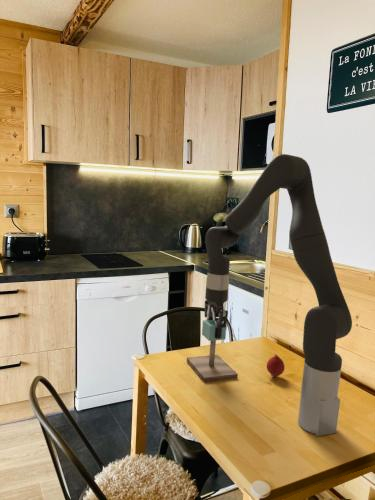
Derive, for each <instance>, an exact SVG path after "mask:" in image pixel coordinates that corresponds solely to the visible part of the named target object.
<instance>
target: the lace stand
mask: <svg viewBox="0 0 375 500" xmlns="http://www.w3.org/2000/svg"><path fill="white" fill-rule="evenodd" d="M209 343H210V344H209V355H202V356H201V355H199V356H191V357H190V356H189V357H186V362H187V364H188V365H189V366H190V367H191V369H192V370H193V371H194V372H195V373H196V375H197V376H198V377H199V378H200V379H201V380H202V382H204V383H207V382H208V383H210V382H216V381H225V380H233V379H238V375H239V374H238V373H237V372H236V370H235V369H233V368H232V367H231V366H230V365H229V364H228V363H227V362H226V361H225V360H224V359H222V357H221V356H220V355H219V354H216V347H217V345H216V343H217V340H212V341H209Z"/></svg>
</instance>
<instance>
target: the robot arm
mask: <svg viewBox="0 0 375 500" xmlns="http://www.w3.org/2000/svg"><path fill="white" fill-rule="evenodd" d="M266 165H267V166H266V167H265V168H264V169H263V171H262V173H261V174H260V176H259V177H258V178H257V179H256V181H255V183H254V184H253V185H252V187H251V188H250V190H249V191H248V193H247V194H246V195H245V196H244V198H243V199H242V200H241V201H240V202H239V203H238V204H237V205H236V206H235V207H234V208H233V209H232V210H231V211H230V212H229V213H228V215H226V217H225V219H224V220H225V221H224V222H225V225H224V226H213V227H210V228H209V229H208V230H207V232H206V233H205V238H204V239H205V240H204V244H205V248H206V253H207V254H206V255H207V259H208V265H207V268H208V269H207V273H206V274H207V276H206V281H205V297H204V299H205V300H204V318H206V319H205V320H214V321H215V338H216V339H219V338H221V335H222V328H224V327H226V328H227V322H228V315H229V311H228V310H225V307H224V303H226V302H227V301H229V300H228V299H229V285H230V267H231V266H230V265H231V264H230V262H231V261H230V258H229V256H228V255H224V253H223V249H227V248H230V247H231V248H232V247H233V246H234V245H235V244H236V243H238V241H239V239H240V238H241V236H242V235H243V233H244V231H245V230H246V229H247V228H248V227H249V226H250V225H251V224H252V223H254V222H255V220H256V219H257V218H258V217H259V215H260V213H261V211H262V209H263V206H264V204H265V202H266V201H267V200H268V198H270V197H271V195H273V194H274V193H275V192H277V191H279V190H280V189H285V190H287V194H288V196H289V200H290V203H291V204H290V205H291V209H292V210H291V211H292V213H291V215H292V216H291V219H290V220H291V221H290V226H289V242H290V245H291V250H292V253H293V257H294V260H295V262H296V264H297V266H298V267H299V268H300V270H301V271H302V273H303V274H304V275H305V277H306V279H308V281H309V282H310V284H311V285H312V287H313V290H314V293H315V296H316V299H317V302H318V305H317V306H314V307H312V308H311V309H309V310H308V312H307V313H306V315H305V318H304V322H303V335H302V336H303V339H302V351H303V355H304V361H303V362H304V363H303V370H302V371H303V372H302V378H301V379H302V380H301V390H300V399H299V400H300V401H299V407H298V409H299V410H298V418H297V423H298V425H299V426H300V428H302V429H303V430H305V431H306V432H308V433H311V434H314V436H316V437H321V436H325V435H330V434H331V435H332V434H336V433H337V429H338V420H339V412H340V407H341V406H340V404H341V399H340V398H339V390H340V389H339V388H340V379H341V371H342V364H343V358H342V356H341V354H339V353H337V352H336V348H337V346H336V345H337V340H338V339H342V338H344V337H347V336H348V334H350V332H351V331H352V328H353V319H352V314H351V311H350V309H349V307H348V306H349V305H348V303H347V301H346V298H345V297H344V294H343V292H342V288H341V285H340V283H339V280H338V276H337V273H336V270H335V265H334V263H333V259H332V255H331V252H330V248H329V243H328V239H327V237H326V232H325V230H324V226H323V224H322V219H321V215H320V212H319V211H320V210H319V208H318V204H317V201H316V196H315V191H314V183H313V179H312V177H313V176H312V172H311V171H312V170H311V168H310V166H309V163H308V162H307V161H306V160H305V159H304V158H302V157H300V156H296V155H291V154H286V153H282V154H278V155H276V156H274V157H272V158H271V160H270V161H269V163H268V164H266Z"/></svg>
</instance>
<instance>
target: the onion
mask: <svg viewBox="0 0 375 500" xmlns="http://www.w3.org/2000/svg"><path fill="white" fill-rule="evenodd" d="M266 369H267V372H269V374H270V375H271V376H272V377H273V378H276V377H279V376H281V375H282V374H283V373H284V372H285V363H284V360H283V359H282V358H280V357H279V355H278V354H277V353H274V355H273V356H272V357H270V358H269V359H268V361H267V363H266Z"/></svg>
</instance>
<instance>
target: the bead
mask: <svg viewBox="0 0 375 500" xmlns="http://www.w3.org/2000/svg"><path fill="white" fill-rule="evenodd" d="M201 329H202V330H201V331H202V332H201V335H202V336H203V337H204V338H205V339H206V340H207V341H208V342H211V341H212V340H216V341H220V340H221V341H222V340H226V337H227V335H226V334H227V326H226V327H224V328H222V335H221V338H219V339H216V338H215V321H214V320H206V319H204V320H202V328H201Z"/></svg>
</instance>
